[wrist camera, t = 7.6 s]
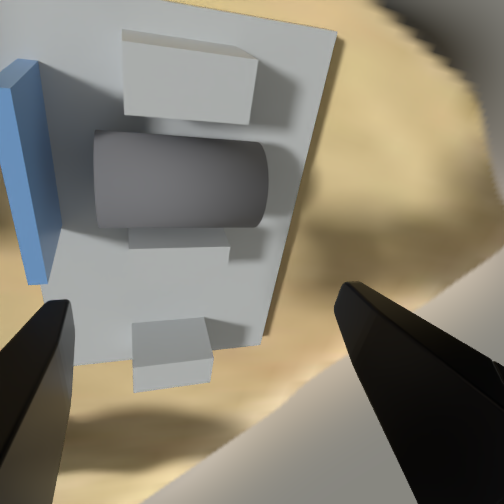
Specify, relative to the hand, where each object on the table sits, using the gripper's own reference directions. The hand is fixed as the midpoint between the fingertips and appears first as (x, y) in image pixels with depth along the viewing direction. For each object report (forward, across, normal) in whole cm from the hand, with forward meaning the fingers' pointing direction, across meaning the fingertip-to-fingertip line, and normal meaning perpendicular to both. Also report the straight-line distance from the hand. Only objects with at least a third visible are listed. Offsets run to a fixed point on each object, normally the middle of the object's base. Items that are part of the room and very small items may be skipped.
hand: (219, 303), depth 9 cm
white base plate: (+10, 0, +4) cm, 11 cm away
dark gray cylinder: (+9, 0, 0) cm, 9 cm away
